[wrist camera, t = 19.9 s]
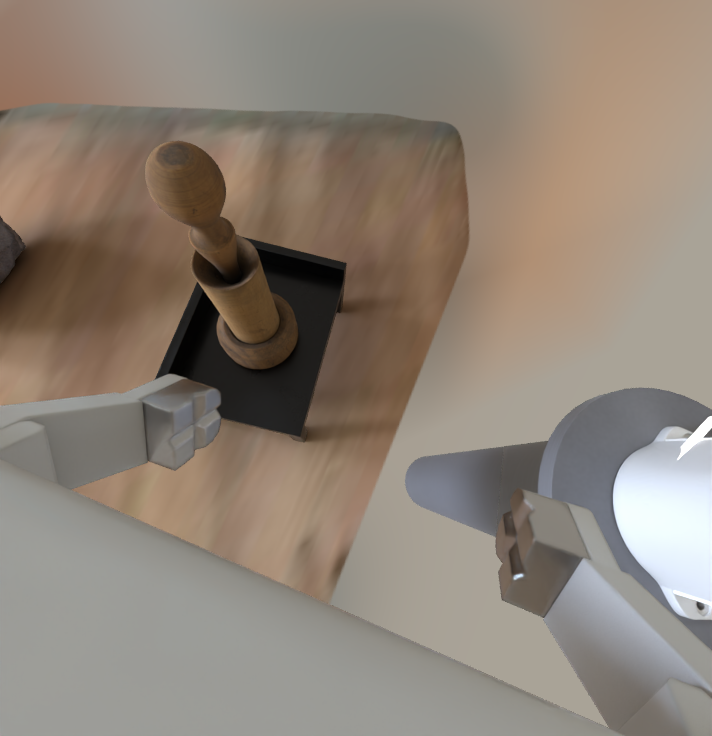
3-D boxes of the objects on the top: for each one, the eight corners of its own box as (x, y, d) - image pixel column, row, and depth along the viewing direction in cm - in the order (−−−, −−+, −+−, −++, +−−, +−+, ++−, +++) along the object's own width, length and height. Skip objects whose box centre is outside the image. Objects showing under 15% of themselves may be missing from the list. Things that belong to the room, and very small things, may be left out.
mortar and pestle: (250, 290, 31) (156, 71, 14) (311, 321, 31) (291, 135, 14) (209, 349, 29) (40, 177, 12) (273, 383, 29) (194, 255, 12)
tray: (342, 303, 38) (346, 262, 31) (304, 442, 33) (298, 434, 26) (240, 278, 38) (219, 230, 30) (187, 413, 33) (146, 397, 26)
